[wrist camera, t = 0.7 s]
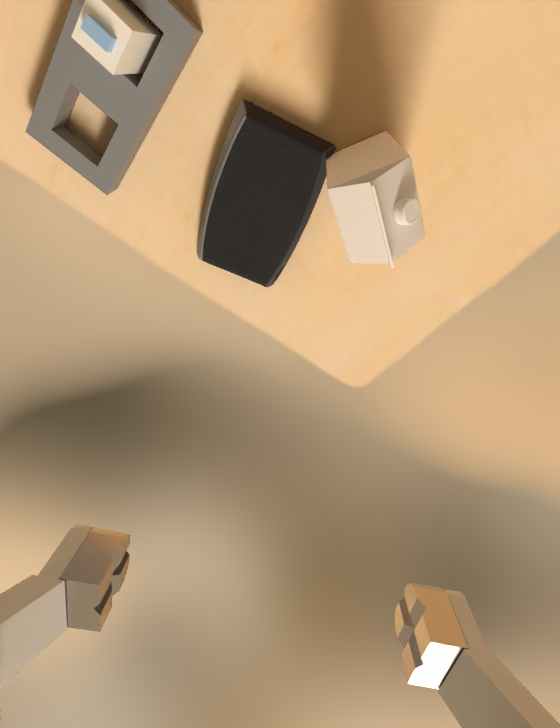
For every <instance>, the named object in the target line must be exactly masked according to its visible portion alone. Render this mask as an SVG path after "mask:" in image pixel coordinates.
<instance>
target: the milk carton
mask: <svg viewBox="0 0 560 728" xmlns="http://www.w3.org/2000/svg"><path fill="white" fill-rule="evenodd" d="M326 171H327V191H328V195H329V198H330V201H331V204H332V208H333V211H334V214H335V217H336V221H337V224H338V227H339V230H340V233H341V237H342V240H343V243H344V246H345V249H346V253H347V256H348V259H349V261H350V263H383V264H390V265H391V268H394V265H393V262H394V261H395V260H397V259H398V258H399V257H401V256H402V255H403V254H404V253H406V252H407V251H408V250H410V249H411V248H412V247H413V246H415V245H416V244H417V243H419V242H420V241H421V240H423V239H424V237H425V233H424V227H423V221H422V215H421V207H420V202H419V199H418V193H417V187H416V182H415V176H414V171H413V166H412V161H411V157H410V156H409V154H408V153H407V152H406V151H405V150H404V149H403V148H402V147H401V146H400V145H399V144H398V143H397V142H396V141H395V140H394V139H393V137H392V136H391V135H390V134H389V133H388V132H387V131H384V132H382V133H379V134H377V135H375V136H372V137H370V138H368V139H365V140H363V141H361V142H358V143H356V144H354V145H351V146H349V147H347V148H344V149H342V150H340V151H337V152H335V153H333V154H332V155H331V156H330V157H329V158H328V159H327V160H326Z"/></svg>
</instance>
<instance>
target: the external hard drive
mask: <svg viewBox="0 0 560 728" xmlns="http://www.w3.org/2000/svg"><path fill="white" fill-rule="evenodd" d="M334 150H335V146H334V145H333V144H331V143H329V142H327V141H325V140H323V139H321V138H319V137H317V136H315V135H313V134H311V133H309V132H308V131H305V130H303V129H302V128H300V127H298V126H296V125H294V124H292V123H290V122H288V121H285V120H284V119H282V118H280V117H278V116H276V115H274V114H272V113H271V112H268V111H266V110H264V109H262V108H260V107H258V106H256V105H254V104H253V103H252V102H248V101H246V100H244V99H241V100H240V102H239V104H238V106H237V109H236V111H235V113H234V116H233V119H232V121H231V124H230V126H229V129H228V132H227V134H226V137H225V140H224V143H223V146H222V148H221V151H220V154H219V157H218V160H217V163H216V166H215V170H214V173H213V176H212V180H211V183H210V187H209V191H208V194H207V199H206V203H205V207H204V212H203V216H202V221H201V227H200V232H199V239H198V246H197V255H198V257H199V259H200V260H202V261H204V262H207V263H209V264H211V265H214V266H216V267H219V268H221V269H224V270H226V271H229V272H231V273H234V274H236V275H239V276H241V277H243V278H246V279H248V280H251V281H253V282H256V283H258V284H261V285H263V286H265V287H269V286H271V285H273V284H274V282H275V281H276V280H277V278H278V277H279V275H280V274H281V272H282V270H283V268H284V267H285V265H286V263H287V262H288V260H289V258H290V256H291V255H292V253H293V251H294V249H295V247H296V245H297V243H298V241H299V239H300V237H301V235H302V233H303V231H304V228H305V226H306V224H307V222H308V220H309V218H310V215H311V213H312V211H313V208H314V206H315V204H316V201H317V199H318V196H319V194H320V191H321V188H322V186H323V183H324V180H325V178H326V175H327V171H326V160H327V159H328V158H329V157H330V156H331V155H332V154H333V153H334Z"/></svg>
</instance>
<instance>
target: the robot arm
mask: <svg viewBox="0 0 560 728" xmlns="http://www.w3.org/2000/svg"><path fill="white" fill-rule="evenodd" d="M129 544H130V535H128V534H123V533H118V532H113V531H109V530H104V529H99V528H94V527H88V526H83V525H78V524H77V525H75V526H74V527H73V528H71V529H70V531H69V532H68V534H67V535H66V536H65V538H64V539H63V541H62V542H61V544H60V545H59V547H58V548H57V549H56V551H55V552H54V553H53V555H52V556H51V558H50V559H49V561H48V562H47V563H46V565H45V566H44V568H43V569H42V570H41V572H40V574H39V575H38V576H36V575H31V576H30V577H28V578H26V579H25V580H23V581H21V582H20V583H18V584H16V585H15V586H13V587H11V588H10V589H8V590H7V591H5V592H3V593H1V594H0V687H2V686H3V685H4V684H5V683H6V682H7V681H8V680H10V679H11V678H12V677H13V676H14V675H15V674H16V673H18V672H19V671H20V670H21V669H22V668H23V667H25V666H26V665H27V664H28V663H29V662H30V661H32V660H33V659H34V658H35V657H36V656H37V655H38V654H40V653H41V652H42V651H43V650H44V649H45V648H46V647H48V646H49V645H50V644H51V643H52V642H53V641H54V640H56V639H57V638H58V637H59V636H60V635H61V634H63V633H64V632H65V631H66V630H67V627H69V628H77V629H84V630H92V631H99V632H100V631H101V629H102V626H103V624H104V622H105V620H106V618H107V616H108V614H109V612H110V609H111V607H112V595H114V594H115V593H117V592H118V591H119V590H120V588H121V586H122V583H123V581H124V578H125V575H126V572H127V569H128V564H129V554H128V552H127V551H126V550H127V548H128V546H129ZM404 595H405V598H404V599H402V600H400V601H399V602H398V605H397V607H396V609H395V619H394V620H395V630H396V635H397V638H398V640H399V641H400V642H401V644H402V645H403V646H404V650H403V653H402V655H401V657H402V661H403V666H404V670H405V674H406V679H407V683H409V684H414V685H420V686H424V687H429V688H434V689H439V690H438V692H439V694H440V695H441V697H442V698H443V700H444V701H445V703H446V704H447V706H448V707H449V709H450V710H451V712H452V713H453V715H454V717H455V718H456V720H457V721H458V723H459V724H460V726H461V727H462V728H560V724H559V723H558V722H557V721H556V720H555V719H554V718H553V717H552V716H551V715H550V713H549V712H548V711H547V710H546V709H545V708H544V707H543V706H542V705H541V704H540V703H539V702H538V701H537V699H536V698H535V697H534V696H532V694H531V693H530V692H529V691H528V690H527V689H526V688H525V687H524V686H523V685H522V683H520V681H519V680H518V679H517V678H516V677H515V676H514V675H513V674H512V673H511V672H510V671H509V670H508V668H507V667H506V666H505V665H504V664H503V663H502V662H501V661H500V660H499V659H498V658H497V657H496V656H495V655H494V654H492V653H488V650H487V648H486V646H485V644H484V641H483V639H482V636H481V634H480V632H479V629H478V627H477V625H476V622H475V620H474V618H473V615H472V613H471V611H470V608H469V606H468V604H467V602H466V599H465V597H464V595H463V594H462V593H461V592H457V591H451V590H446V589H442V588H437V587H430V586H423V585H418V584H411V583H409V584H408V585H406V587H405V590H404ZM1 720H2V718H1V712H0V722H1Z"/></svg>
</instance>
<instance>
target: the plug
mask: <svg viewBox="0 0 560 728" xmlns="http://www.w3.org/2000/svg"><path fill="white" fill-rule="evenodd" d="M72 38H73V39H74V40H75V41H76V42H77V43H78V44H79V45H81V46H82V47H83V48H84V49H85V50H86V51H87V52H88V53H89V54H90V55H92V56H93V57H94V58H95V59H96V60H97V61H98V62H99V63H100V64H101V65H103V66H104V67H105V68H106V69H107V70H108V71H109V72H110V73H111V74H112V75H119V74H137V73H144V72H145V70H146V68H147V66H148V64H149V62H150V60H151V58H152V56H153V54H154V52H155V50H156V48H157V46H158V44H159V42H160V40H161V38H162V35H161V34H160V33H159V32H158V31H157V30H156V29H155V28H154V27H153V26H152V25H151V24H150V23H149V22H148V21H147V20H146V19H145V18H144V17H143V16H142V15H141V14H140V13H139V12H138V11H137V10H136V9H135V8H134V7H133V6H132V5H131V4H130V3H129V2H128V1H126V0H85V2H84V4H83V7H82V10H81V12H80V15H79V18H78V21H77V23H76V26H75V29H74V31H73V34H72Z"/></svg>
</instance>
